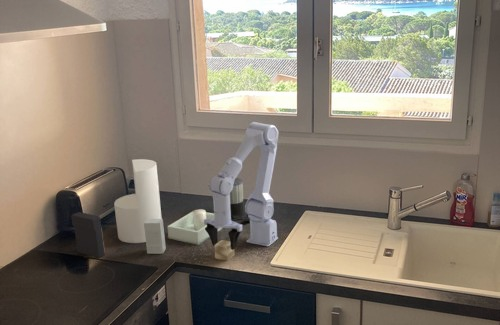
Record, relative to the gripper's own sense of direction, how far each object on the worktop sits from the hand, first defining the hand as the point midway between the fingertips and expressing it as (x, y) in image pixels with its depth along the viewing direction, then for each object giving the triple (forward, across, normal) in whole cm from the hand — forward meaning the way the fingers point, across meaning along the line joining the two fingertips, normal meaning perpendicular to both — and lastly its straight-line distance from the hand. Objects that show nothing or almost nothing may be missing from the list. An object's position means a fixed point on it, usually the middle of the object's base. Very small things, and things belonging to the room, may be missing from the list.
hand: (224, 246), depth 188 cm
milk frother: (+4, -14, +33) cm, 36 cm away
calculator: (+4, -46, -18) cm, 50 cm away
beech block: (+4, 0, 0) cm, 4 cm away
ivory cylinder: (+3, -21, +16) cm, 26 cm away
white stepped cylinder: (+4, -41, +3) cm, 41 cm away
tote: (+4, -21, +13) cm, 25 cm away
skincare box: (+4, -25, -7) cm, 26 cm away
